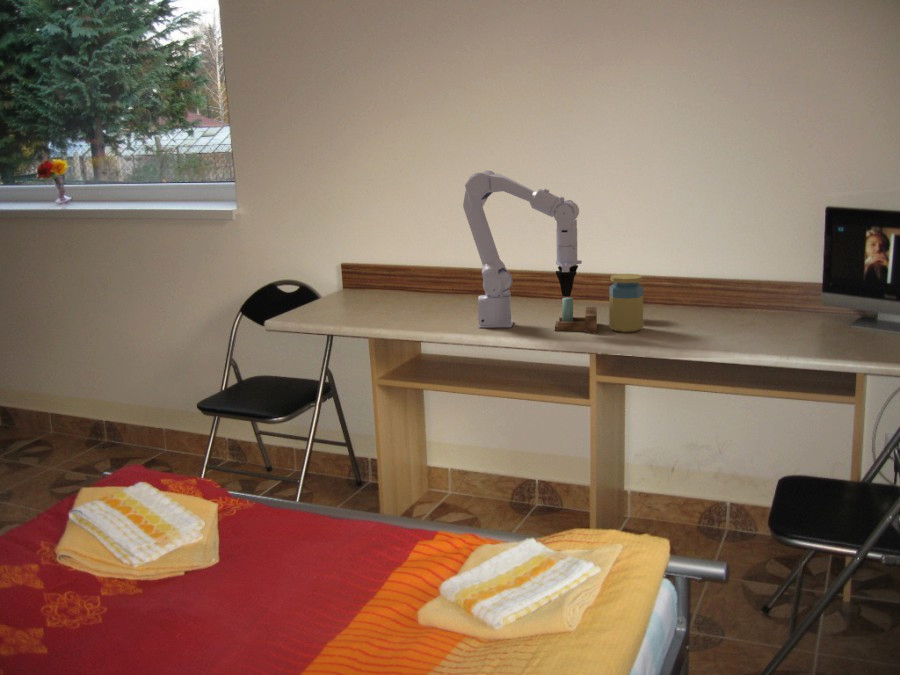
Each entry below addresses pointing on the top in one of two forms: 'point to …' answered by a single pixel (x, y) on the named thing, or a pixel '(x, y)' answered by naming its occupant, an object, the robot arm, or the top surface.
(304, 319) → the top surface
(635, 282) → the jar
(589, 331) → the cradle
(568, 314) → the peg
